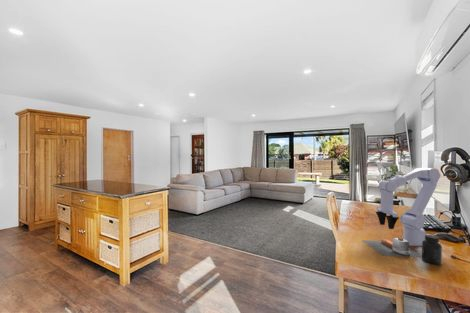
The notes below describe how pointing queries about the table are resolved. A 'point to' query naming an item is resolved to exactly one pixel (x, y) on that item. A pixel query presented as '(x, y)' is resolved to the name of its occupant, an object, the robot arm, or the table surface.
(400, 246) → the socket
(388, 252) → the mat
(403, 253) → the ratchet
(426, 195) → the robot arm
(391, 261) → the table surface
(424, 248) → the supplement bottle
